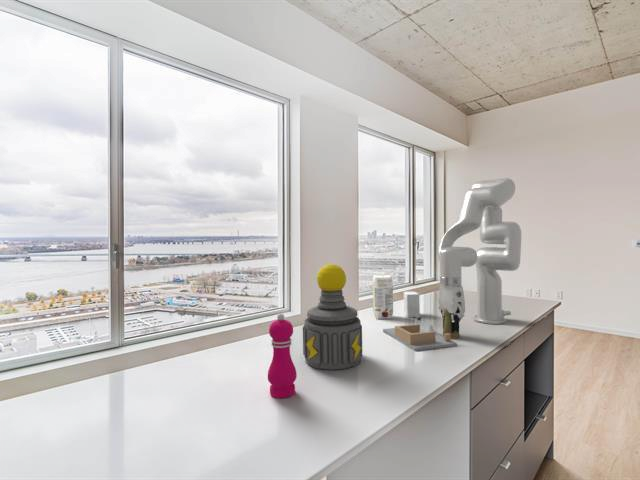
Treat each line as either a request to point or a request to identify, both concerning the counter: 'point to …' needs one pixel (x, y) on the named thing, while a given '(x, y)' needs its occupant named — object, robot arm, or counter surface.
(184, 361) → the counter surface
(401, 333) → the dock
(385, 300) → the juice carton
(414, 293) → the small box
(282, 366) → the pepper mill
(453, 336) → the cork
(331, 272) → the decorative lamp
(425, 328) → the bar
